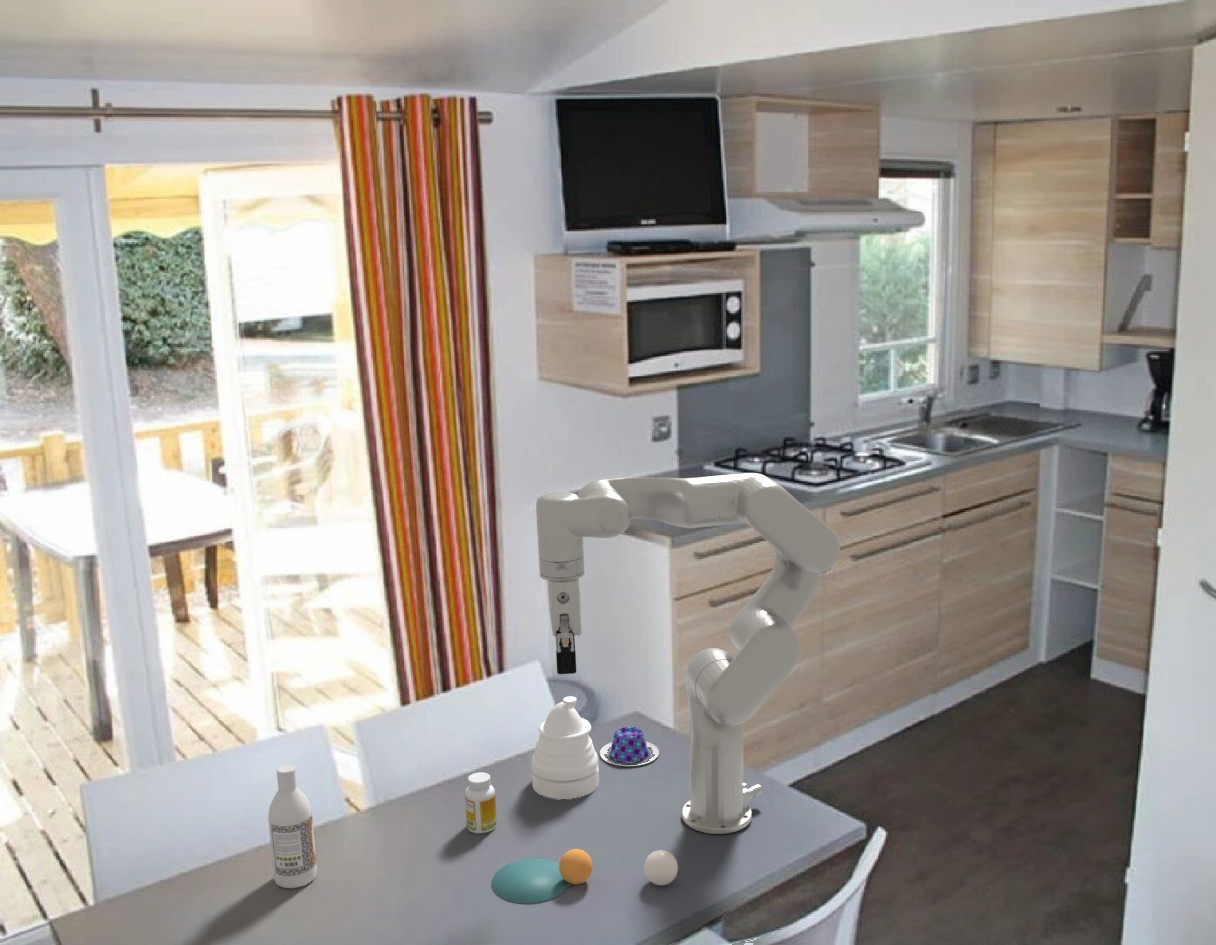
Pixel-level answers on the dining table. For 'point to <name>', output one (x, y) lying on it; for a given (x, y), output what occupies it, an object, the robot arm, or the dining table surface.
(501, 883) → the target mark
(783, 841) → the dining table surface
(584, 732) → the honey pot
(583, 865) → the orange ball
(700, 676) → the robot arm
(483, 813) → the supplement bottle
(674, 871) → the white ball
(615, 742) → the pudding
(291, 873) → the bath foam
